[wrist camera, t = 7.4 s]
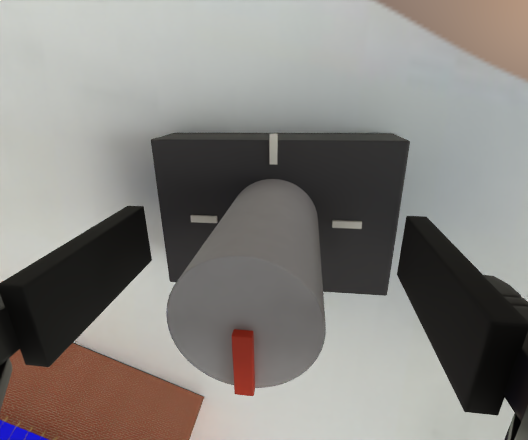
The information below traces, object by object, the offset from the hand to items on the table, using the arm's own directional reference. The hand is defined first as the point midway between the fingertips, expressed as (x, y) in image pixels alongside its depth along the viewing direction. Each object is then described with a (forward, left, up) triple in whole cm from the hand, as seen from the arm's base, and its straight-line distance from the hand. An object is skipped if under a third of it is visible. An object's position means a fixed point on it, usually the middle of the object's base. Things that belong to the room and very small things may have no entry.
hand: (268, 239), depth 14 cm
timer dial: (0, 0, -2) cm, 2 cm away
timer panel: (0, 0, -5) cm, 5 cm away
